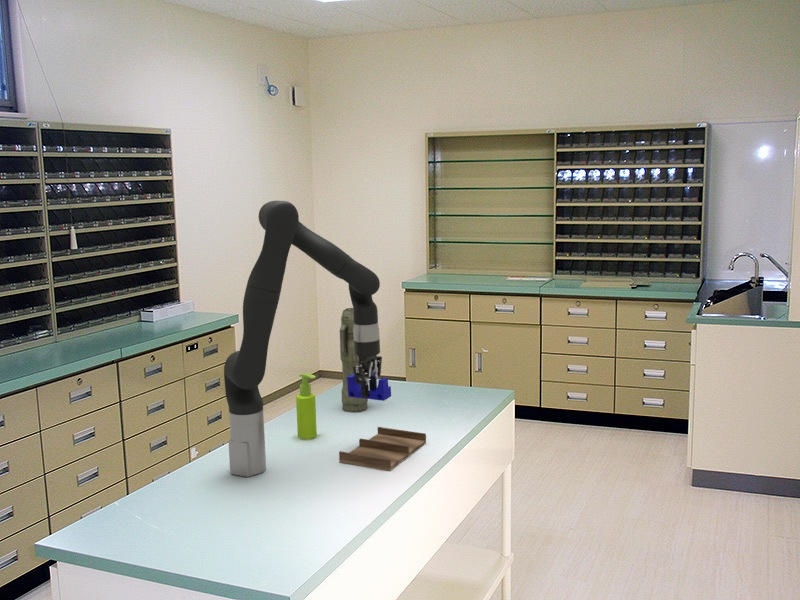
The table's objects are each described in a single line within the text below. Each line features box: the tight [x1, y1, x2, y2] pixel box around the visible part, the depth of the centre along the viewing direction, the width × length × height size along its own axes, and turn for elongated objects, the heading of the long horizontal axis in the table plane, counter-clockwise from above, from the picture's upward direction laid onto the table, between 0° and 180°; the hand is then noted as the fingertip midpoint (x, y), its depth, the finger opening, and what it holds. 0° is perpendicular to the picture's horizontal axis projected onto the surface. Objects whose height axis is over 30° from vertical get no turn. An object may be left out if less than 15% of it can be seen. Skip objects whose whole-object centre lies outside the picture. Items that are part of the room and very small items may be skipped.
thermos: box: [339, 307, 369, 413], centre depth 268 cm, size 9×12×35 cm
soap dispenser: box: [295, 372, 318, 441], centre depth 241 cm, size 6×7×20 cm
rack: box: [338, 426, 427, 472], centre depth 228 cm, size 24×16×3 cm, turn 154°
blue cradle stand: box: [347, 374, 392, 402], centre depth 230 cm, size 12×4×6 cm, turn 63°
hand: (369, 394), depth 230 cm, fingers closed on blue cradle stand, 4 cm apart
